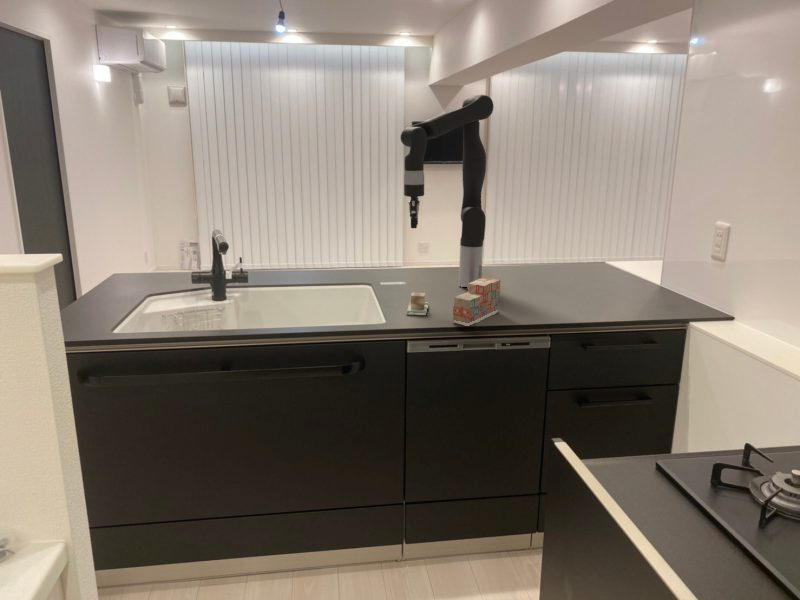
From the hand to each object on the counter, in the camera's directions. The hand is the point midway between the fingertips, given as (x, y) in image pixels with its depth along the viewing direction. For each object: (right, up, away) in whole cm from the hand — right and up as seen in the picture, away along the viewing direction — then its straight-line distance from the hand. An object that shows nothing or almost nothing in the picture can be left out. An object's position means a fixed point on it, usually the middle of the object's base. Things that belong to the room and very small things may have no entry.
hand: (414, 226), depth 223 cm
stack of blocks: (+21, -34, -21) cm, 45 cm away
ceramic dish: (+1, -32, -13) cm, 34 cm away
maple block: (+1, -31, -14) cm, 34 cm away
